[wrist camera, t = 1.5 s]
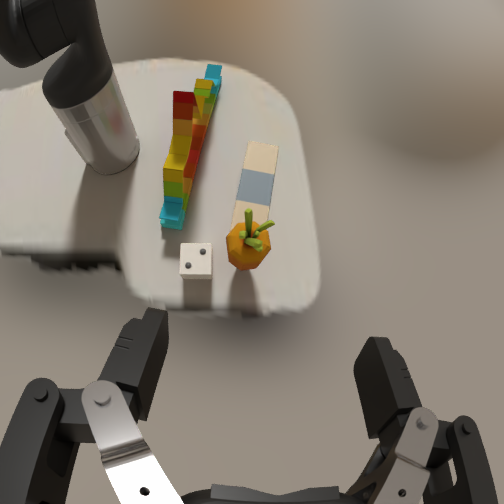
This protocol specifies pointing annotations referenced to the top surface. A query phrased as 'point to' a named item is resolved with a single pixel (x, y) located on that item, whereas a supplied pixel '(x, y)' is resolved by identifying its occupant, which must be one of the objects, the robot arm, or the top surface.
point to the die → (196, 260)
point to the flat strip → (256, 183)
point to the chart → (187, 144)
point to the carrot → (248, 242)
